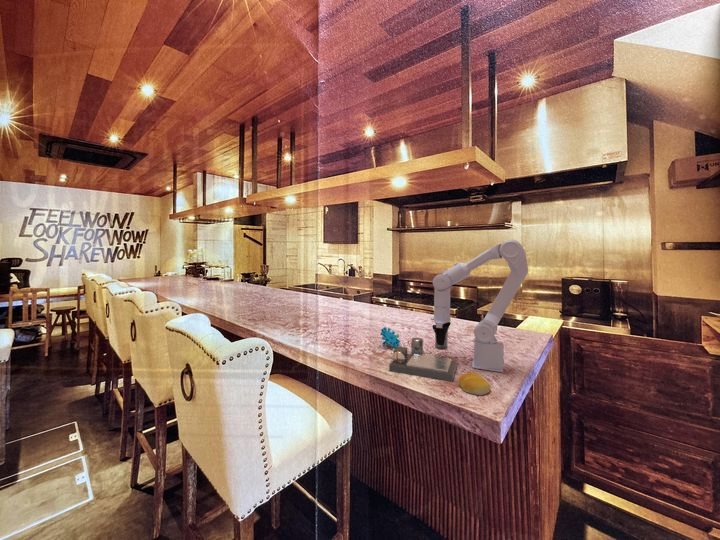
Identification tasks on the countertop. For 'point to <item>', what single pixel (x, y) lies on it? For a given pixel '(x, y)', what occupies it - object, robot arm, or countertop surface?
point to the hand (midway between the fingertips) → (441, 343)
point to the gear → (390, 337)
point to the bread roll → (474, 383)
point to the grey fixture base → (422, 365)
